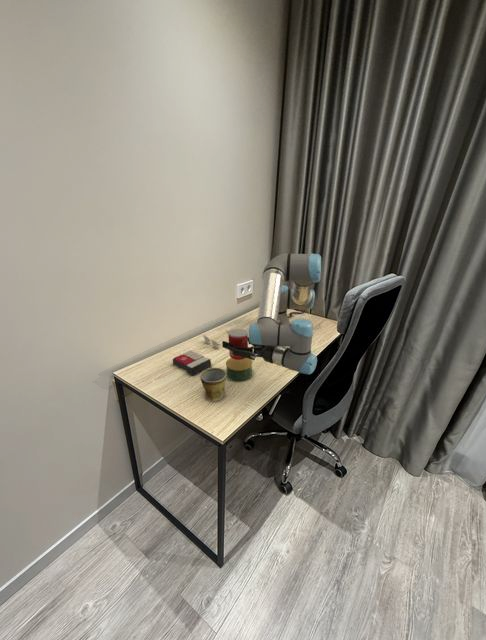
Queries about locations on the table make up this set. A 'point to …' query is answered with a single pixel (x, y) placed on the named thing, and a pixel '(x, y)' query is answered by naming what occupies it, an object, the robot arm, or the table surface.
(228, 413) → the table surface
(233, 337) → the canned food
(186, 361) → the calculator
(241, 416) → the table surface
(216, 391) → the ceramic cup
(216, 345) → the eyeglasses
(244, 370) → the tin
